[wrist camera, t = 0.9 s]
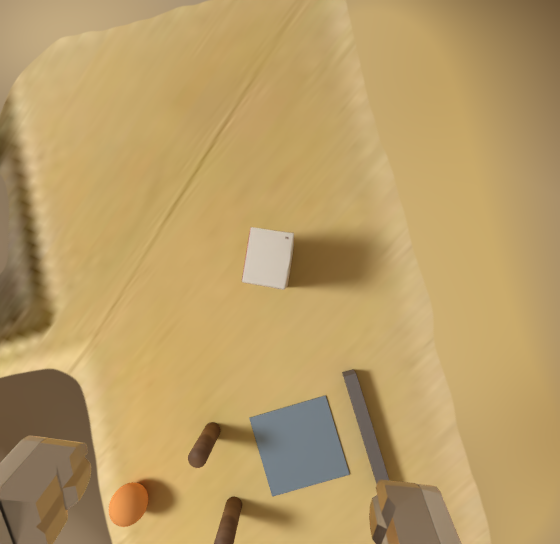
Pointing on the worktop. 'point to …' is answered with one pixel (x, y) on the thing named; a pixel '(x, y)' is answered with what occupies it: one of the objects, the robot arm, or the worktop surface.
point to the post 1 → (204, 445)
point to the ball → (128, 504)
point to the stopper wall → (365, 425)
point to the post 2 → (229, 522)
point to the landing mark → (299, 446)
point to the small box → (268, 258)
